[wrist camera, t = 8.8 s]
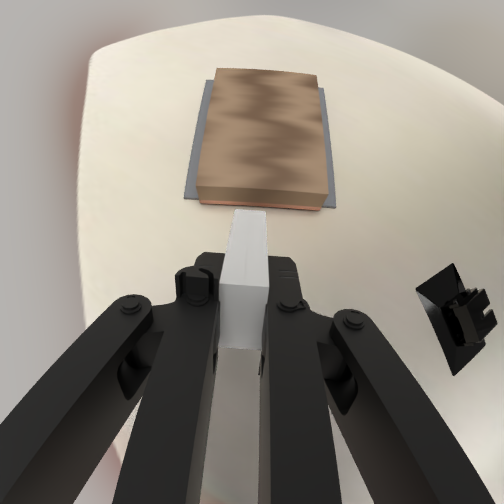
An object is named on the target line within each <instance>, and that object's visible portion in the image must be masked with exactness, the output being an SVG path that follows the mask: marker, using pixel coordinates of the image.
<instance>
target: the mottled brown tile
mask: <svg viewBox="0 0 504 504" xmlns="http://www.w3.org/2000/svg"><path fill="white" fill-rule="evenodd" d="M196 190H197V193H198V197H199V201H200V203H208V204H230V205H248V206H265V207H280V208H294V209H308V210H320V209H321V207H322V205H323V203H324V202H325V200H326V198H327V196H328V195H329V192H328V178H327V165H326V153H325V142H324V132H323V123H322V114H321V106H320V98H319V90H318V83H317V76H316V75H310V74H303V73H294V72H284V71H273V70H258V69H236V68H217V69H216V74H215V78H214V83H213V88H212V93H211V98H210V103H209V109H208V114H207V119H206V125H205V130H204V136H203V142H202V148H201V154H200V160H199V166H198V172H197V179H196Z"/></svg>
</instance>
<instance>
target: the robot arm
mask: <svg viewBox="0 0 504 504" xmlns="http://www.w3.org/2000/svg"><path fill="white" fill-rule="evenodd" d="M175 283H176V296H177V298H176V300H175V302H172V303H169V304H164V305H156V306H152V305H151V302H150V300H149V299H148V298H146V297H144V296H142V295H136V294H133V295H126V296H123V297H120V298H119V299H117V300H116V301H114V302H113V303H112V304H111V305H110V306H109V307H108V308H107V309H106V310H105V311H104V312H103V313H102V314H101V315H100V316H99V317H98V318H97V319H96V320H95V321H94V322H93V323H92V324H91V325H90V326H89V327H88V328H87V329H86V330H85V331H84V333H82V334H81V335H80V337H79V338H78V339H77V340H76V341H75V342H74V343H73V344H72V345H71V346H70V347H69V348H68V349H67V350H66V351H65V352H64V353H63V354H62V355H61V356H60V358H59V359H58V360H57V361H56V362H55V363H54V364H53V365H52V366H51V367H50V368H49V369H48V371H47V372H46V373H45V374H44V375H43V376H42V377H41V378H40V379H39V380H38V381H37V383H36V384H35V385H34V386H33V387H32V388H31V389H30V390H29V392H28V393H27V394H26V395H25V396H24V397H23V398H22V400H21V401H20V402H19V403H18V404H17V405H16V406H15V408H14V409H13V410H12V411H11V412H10V414H9V415H8V416H7V417H6V418H5V420H4V421H3V422H2V423H1V424H0V504H73V503H74V501H75V500H76V498H77V497H78V495H79V493H80V492H81V490H82V489H83V487H84V485H85V484H86V482H87V481H88V479H89V477H90V476H91V475H92V473H93V471H94V470H95V468H96V466H97V465H98V463H99V462H100V460H101V459H102V457H103V456H104V454H105V453H106V451H107V450H108V448H109V446H110V445H111V443H112V442H113V440H114V439H115V437H116V436H117V434H118V432H119V431H120V429H121V428H122V426H123V425H124V423H125V422H126V420H127V419H128V417H129V416H130V414H131V412H132V411H133V409H134V408H135V406H136V405H137V403H138V402H139V400H140V399H141V397H142V399H141V402H140V406H139V409H138V412H137V415H136V419H135V422H134V425H133V429H132V432H131V435H130V439H129V442H128V446H127V449H126V453H125V456H124V460H123V464H122V467H121V471H120V475H119V479H118V482H117V487H116V490H115V494H114V498H113V502H112V504H199V503H200V494H201V486H202V477H203V469H204V460H205V452H206V444H207V436H208V428H209V421H210V413H211V405H212V398H213V390H214V383H215V376H216V368H217V361H218V344H219V347H224V348H236V349H251V350H261V347H262V352H261V359H260V366H259V374H258V375H260V427H259V488H258V504H342V500H341V492H340V484H339V476H338V469H337V462H336V455H335V448H334V441H333V434H332V428H331V422H330V415H329V409H328V405H329V408H330V410H331V412H332V414H333V416H334V418H335V420H336V422H337V425H338V427H339V429H340V431H341V433H342V435H343V437H344V439H345V442H346V444H347V446H348V448H349V450H350V452H351V454H352V457H353V459H354V461H355V463H356V465H357V467H358V469H359V471H360V474H361V476H362V478H363V480H364V482H365V484H366V486H367V489H368V491H369V493H370V495H371V497H372V499H373V501H374V504H495V502H494V500H493V499H492V497H491V495H490V493H489V492H488V490H487V488H486V486H485V485H484V483H483V481H482V480H481V478H480V476H479V475H478V473H477V471H476V470H475V468H474V467H473V465H472V463H471V462H470V460H469V458H468V457H467V455H466V454H465V452H464V451H463V449H462V447H461V446H460V444H459V443H458V441H457V440H456V438H455V437H454V435H453V433H452V432H451V430H450V429H449V427H448V426H447V424H446V423H445V421H444V420H443V418H442V417H441V415H440V414H439V412H438V411H437V409H436V408H435V407H434V405H433V404H432V402H431V401H430V399H429V398H428V396H427V395H426V393H425V392H424V391H423V389H422V388H421V386H420V385H419V383H418V382H417V381H416V379H415V378H414V376H413V375H412V374H411V372H410V371H409V369H408V368H407V367H406V365H405V364H404V363H403V361H402V360H401V358H400V357H399V356H398V354H397V353H396V352H395V350H394V349H393V348H392V346H391V345H390V343H389V342H388V341H387V339H386V338H385V337H384V335H383V334H382V333H381V331H380V330H379V329H378V328H377V326H376V325H375V324H374V322H373V321H372V320H371V319H370V318H369V317H368V316H367V315H366V314H364V313H362V312H360V311H357V310H353V309H344V310H340V311H338V312H337V313H336V314H335V315H334V318H330V317H326V316H323V315H320V314H317V313H315V312H313V311H311V310H310V307H309V305H308V303H307V302H306V301H305V300H304V299H303V298H302V293H301V288H300V283H299V279H298V273H297V267H296V264H295V263H294V262H293V260H292V259H291V258H290V257H278V256H268V250H267V230H266V211H256V210H243V209H235V211H234V216H233V220H232V225H231V230H230V234H229V239H228V244H227V248H226V253H225V254H224V253H211V252H203V253H202V254H201V255H200V256H198V257H197V259H196V262H195V264H194V266H190V267H185V268H183V269H181V270H179V271H178V272H177V273H176V274H175Z"/></svg>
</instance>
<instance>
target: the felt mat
mask: <svg viewBox="0 0 504 504" xmlns="http://www.w3.org/2000/svg"><path fill="white" fill-rule="evenodd" d="M213 83H214V80H206V84H205V88H204V92H203V97H202V101H201V106H200V111H199V115H198V120H197V125H196V130H195V135H194V141H193V146H192V151H191V157H190V162H189V168H188V174H187V180H186V186H185V192H184V199H199V197H198V193H197V190H196V179H197V172H198V166H199V160H200V154H201V148H202V142H203V136H204V130H205V125H206V119H207V114H208V109H209V103H210V98H211V93H212V88H213ZM318 90H319V98H320V106H321V114H322V123H323V132H324V142H325V153H326V165H327V178H328V192H329V195H328V196H327V198H326V200H325V202H324V203H323V205H322V207H327V208H336V196H335V183H334V171H333V161H332V151H331V141H330V133H329V124H328V116H327V109H326V102H325V95H324V88H319V87H318Z"/></svg>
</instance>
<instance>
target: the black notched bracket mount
mask: <svg viewBox="0 0 504 504" xmlns="http://www.w3.org/2000/svg"><path fill="white" fill-rule="evenodd" d="M416 292H417V294H418V296H419V298H420V300H421V302H422V304H423V306H424V308H425V311H426V313H427V315H428V317H429V319H430V322H431V324H432V326H433V328H434V331H435V333H436V335H437V338H438V340H439V342H440V345H441V347H442V350H443V352H444V354H445V357H446V359H447V362H448V365H449V367H450V370H451V372H452V375H453V376H455V375H456V374H457V373H458V372H459V371H460V370H461V369H462V368H463V367H464V366H465V365H466V364H467V363H469V362H470V361H471V360H472V359H473V358H474V357H475V356H476V355H477V354H478V353H479V352H480V351H481V349H482V348H483V347H484V346H485V345H486V343H485V340H484V338H485V337H486V336H487V335H488V334H489V333H490V331H491V330H492V329H493V328H494V327H495V326H496V325H497V324H498V323H497V321H496V318H495V315H494V312H493V309H491V310H489V311H488V312H487V313H486V314H485V315H484V313H483V310H484V309H485V308H486V307H487V306H488V305H489V304H490V301H489V299H488V296H487V294H486V291H485V289H480V290H477V288H474V289H467V290H465V287H464V285H463V283H462V280H461V278H460V276H459V274H458V272H457V269H456V267H455V265H454V263H452V264H450V265H449V266H447V267H446V268H445V269H443V270H442V271H440V272H439V273H437V274H436V275H434V276H433V277H431V278H430V279H429V280H427V281H426V282H424V283H423V284H421V285H420V286H418V287H416Z"/></svg>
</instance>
